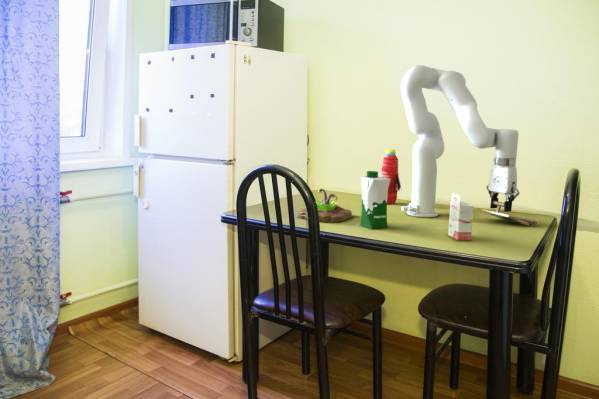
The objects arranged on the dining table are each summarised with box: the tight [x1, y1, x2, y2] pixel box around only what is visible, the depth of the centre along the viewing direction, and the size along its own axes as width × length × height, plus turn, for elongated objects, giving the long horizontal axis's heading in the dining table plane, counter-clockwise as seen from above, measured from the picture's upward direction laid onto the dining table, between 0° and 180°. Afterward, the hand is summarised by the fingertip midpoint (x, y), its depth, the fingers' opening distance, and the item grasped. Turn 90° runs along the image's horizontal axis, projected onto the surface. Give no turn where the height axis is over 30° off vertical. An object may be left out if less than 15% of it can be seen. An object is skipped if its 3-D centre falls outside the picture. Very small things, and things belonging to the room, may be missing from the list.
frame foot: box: [505, 213, 539, 227], centre depth 195 cm, size 2×15×2 cm, turn 24°
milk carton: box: [360, 170, 390, 230], centre depth 182 cm, size 9×9×20 cm
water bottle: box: [381, 148, 402, 205], centre depth 229 cm, size 12×8×25 cm, turn 36°
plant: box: [297, 188, 353, 223], centre depth 199 cm, size 20×20×11 cm
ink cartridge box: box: [447, 192, 474, 241], centre depth 168 cm, size 9×5×15 cm, turn 5°
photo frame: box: [480, 200, 530, 226], centre depth 192 cm, size 12×14×5 cm
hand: (500, 209), depth 191 cm, fingers closed on photo frame, 6 cm apart
